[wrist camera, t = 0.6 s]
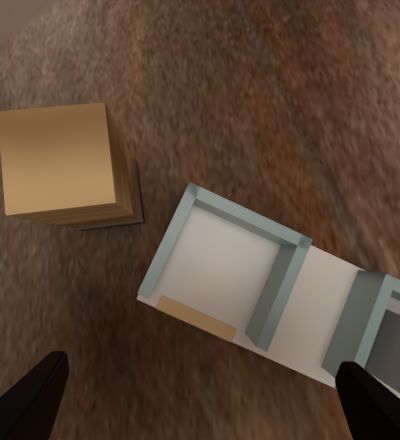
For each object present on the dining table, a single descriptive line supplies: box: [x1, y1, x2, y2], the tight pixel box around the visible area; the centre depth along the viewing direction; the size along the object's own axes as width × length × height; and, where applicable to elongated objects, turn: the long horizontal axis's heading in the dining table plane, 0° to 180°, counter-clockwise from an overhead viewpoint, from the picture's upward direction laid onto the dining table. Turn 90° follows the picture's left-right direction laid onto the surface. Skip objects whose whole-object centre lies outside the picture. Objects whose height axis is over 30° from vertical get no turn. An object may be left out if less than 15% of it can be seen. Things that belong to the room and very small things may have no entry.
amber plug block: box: [0, 102, 145, 231], centre depth 17 cm, size 5×5×10 cm
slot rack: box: [137, 182, 400, 398], centre depth 21 cm, size 9×24×4 cm, turn 65°
